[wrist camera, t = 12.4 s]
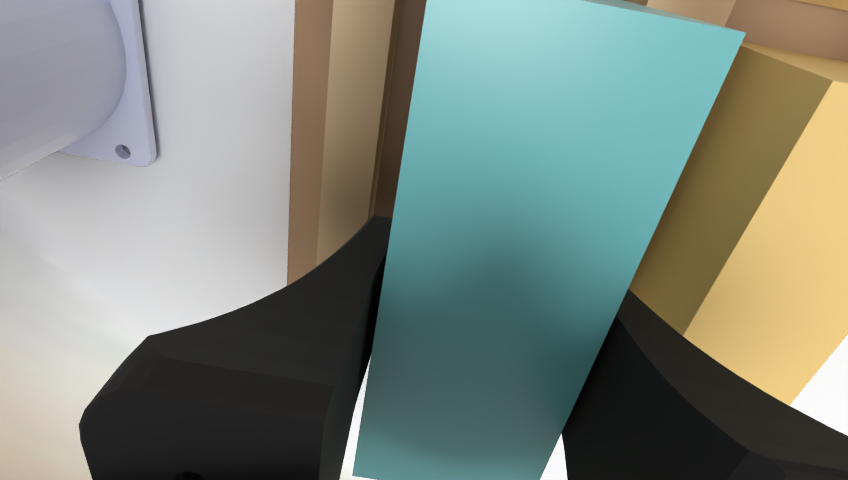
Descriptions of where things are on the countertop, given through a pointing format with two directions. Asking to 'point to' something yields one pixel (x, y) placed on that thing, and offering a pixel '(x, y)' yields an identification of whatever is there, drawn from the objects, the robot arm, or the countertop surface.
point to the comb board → (392, 91)
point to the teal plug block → (523, 221)
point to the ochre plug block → (760, 224)
